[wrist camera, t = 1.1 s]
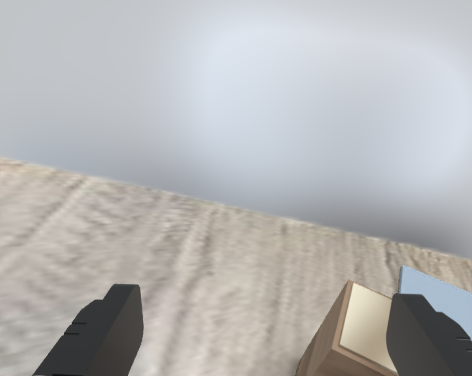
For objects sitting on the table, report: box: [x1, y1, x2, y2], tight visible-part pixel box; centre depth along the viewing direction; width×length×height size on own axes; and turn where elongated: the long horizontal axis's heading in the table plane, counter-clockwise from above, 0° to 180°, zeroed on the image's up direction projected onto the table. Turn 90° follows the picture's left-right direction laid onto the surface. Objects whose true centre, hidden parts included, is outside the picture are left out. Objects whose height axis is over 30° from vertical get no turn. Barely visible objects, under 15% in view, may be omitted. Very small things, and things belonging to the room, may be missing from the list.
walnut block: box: [295, 280, 399, 376], centre depth 23 cm, size 5×5×12 cm
